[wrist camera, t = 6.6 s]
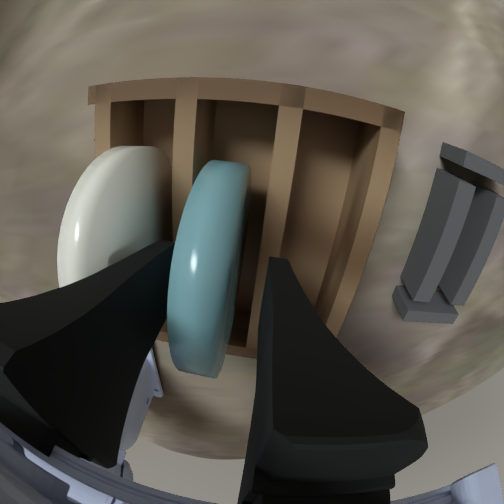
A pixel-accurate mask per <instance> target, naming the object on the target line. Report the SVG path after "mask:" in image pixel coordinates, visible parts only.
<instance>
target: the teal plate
mask: <svg viewBox="0 0 504 504" xmlns="http://www.w3.org/2000/svg"><path fill="white" fill-rule="evenodd" d="M250 196H251V168H250V165H249V164H246V163H238V162H229V161H219V160H211V161H209V162H208V163H207V164H206V165H205V166H204V167H203V168H202V170H201V171H200V173H199V175H198V176H197V178H196V180H195V182H194V184H193V187H192V189H191V191H190V194H189V196H188V199H187V202H186V205H185V208H184V210H183V214H182V217H181V221H180V225H179V228H178V232H177V237H176V241H175V246H174V251H173V257H172V263H171V269H170V278H169V287H168V302H167V330H168V341H169V348H170V353H171V357H172V360H173V363H174V365H175V367H176V368H177V369H178V370H179V371H182V372H186V373H191V374H195V375H200V376H205V377H210V378H215V379H216V378H217V377H218V375H219V373H220V371H221V368H222V365H223V362H224V358H225V354H226V351H227V347H228V342H229V338H230V333H231V329H232V324H233V319H234V313H235V308H236V303H237V297H238V291H239V285H240V279H241V272H242V266H243V259H244V252H245V244H246V236H247V228H248V219H249V209H250Z"/></svg>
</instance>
